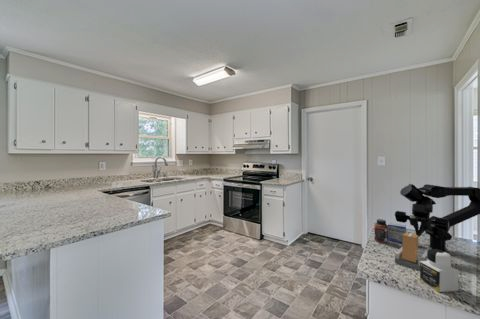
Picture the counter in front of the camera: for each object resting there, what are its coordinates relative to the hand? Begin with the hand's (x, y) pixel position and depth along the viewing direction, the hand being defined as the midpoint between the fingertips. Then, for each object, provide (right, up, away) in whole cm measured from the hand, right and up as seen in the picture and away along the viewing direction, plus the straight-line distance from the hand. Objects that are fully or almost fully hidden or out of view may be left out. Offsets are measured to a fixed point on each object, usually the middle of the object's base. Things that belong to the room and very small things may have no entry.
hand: (417, 236), depth 96 cm
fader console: (-3, -10, -1) cm, 10 cm away
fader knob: (-8, -7, -6) cm, 12 cm away
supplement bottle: (-4, -9, +19) cm, 21 cm away
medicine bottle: (-9, -10, -20) cm, 24 cm away
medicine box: (+5, -9, +19) cm, 22 cm away
